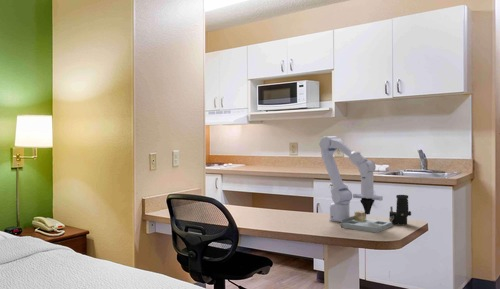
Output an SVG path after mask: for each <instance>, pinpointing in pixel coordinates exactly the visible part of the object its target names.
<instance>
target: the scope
mask: <svg viewBox="0 0 500 289" xmlns="http://www.w3.org/2000/svg"><path fill="white" fill-rule="evenodd" d="M409 216H412V211H411V210H409V195H407V194H397V195H396V210H395V211H393V206H390V211H389V219H388V220H389V222H392V225H398V226H399V225H401V226H406V225H408V217H409Z"/></svg>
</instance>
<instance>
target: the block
mask: <svg viewBox="0 0 500 289" xmlns="http://www.w3.org/2000/svg"><path fill="white" fill-rule="evenodd" d="M354 216H355V220H358V221H364V220H366V219H367V214H365V210H364V211H363V210H357V211H354Z"/></svg>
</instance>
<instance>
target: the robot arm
mask: <svg viewBox="0 0 500 289" xmlns="http://www.w3.org/2000/svg"><path fill="white" fill-rule="evenodd" d="M318 145H319V147H320V152H321V153H320V154H321V158H322V160H323V164H324V166H325V168H326V172H327V174H328V176H329V180H330V182H331V184H332V188H331V190H330V193H331V199H332V202H331V204H330V206H329V219H328V220H329V221H332V222H338V223H339V222H340V223H341V220H342V219H345V218H348V217H351V214H350V203H351V201H352V199H360V204H361V205H362V208H363V210H364V211H365V214H366V215H370V214H371V209H372V207H373V204H374V203H375V201H379V202H381V201H383V199H384V198H383V195H376V194H374V192H375V191H374V172H375V171H376V164H375V162H374V161H373V160H368V158H367V157H365V156H363V155H362V153H361V152H360V151H353V149H351V148H350V147H349V146H348V145H347V144H345V142H344V141H343V139H342V138H341V137H339V136H337V135H334V136H326V135H325V136H323V137H321V138H320V141H319V144H318ZM337 149H338V150H339V151H340V152H342V153H343V154H344V155H346V156H347V157H348V160H349V162H350V163H352V164H353V165H355V167H357V169H358V171H359V173H360V174H359V175H360V191H361V193H352V191H351V190H350V189H349V187H348V186H347V185H346V184H345V183H344V182H343V179H342V176H341V174H340V172H339V169H338V165H337V163H336V160H335V158H334V154H335V152H336V151H337Z"/></svg>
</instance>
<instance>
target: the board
mask: <svg viewBox="0 0 500 289" xmlns="http://www.w3.org/2000/svg"><path fill="white" fill-rule="evenodd" d="M340 223H341V225H340V226H341V228H344V229H349V230H351V229H352V230H357V231H363V232H370V233H376V234H377V233H379V232H381V231H384V230H387V229H389V228H391V227H393V224H392V222H390V220H389V221H388V220H379V219H374V218H373V219H371V218H366V220H364V221H358V220H355V215H352V216H351V215H350V217H348V218H345V219H342V220H341V222H340Z"/></svg>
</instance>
